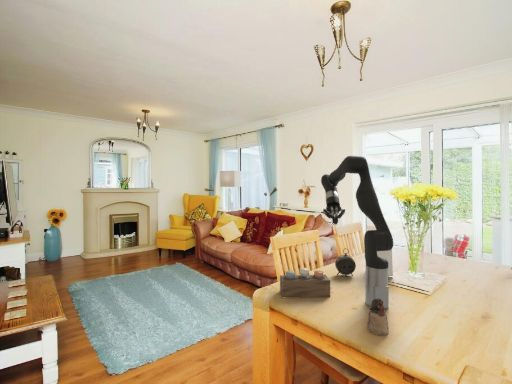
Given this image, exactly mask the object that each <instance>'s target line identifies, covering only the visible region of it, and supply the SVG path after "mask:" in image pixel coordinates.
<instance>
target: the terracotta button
mask: <svg viewBox="0 0 512 384" xmlns="http://www.w3.org/2000/svg"><path fill="white" fill-rule="evenodd" d="M313 275H314V277H315V278H323V275H324V271H323V270H318V269H317V270H316V269H315V270H314V271H313Z"/></svg>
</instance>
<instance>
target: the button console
mask: <svg viewBox="0 0 512 384" xmlns="http://www.w3.org/2000/svg"><path fill="white" fill-rule="evenodd" d="M279 291H280V295H281V298H282V297H300V298H330V297H331V279H330V278H329V276H328V275H327V274H323V278H315V277H314V274H309V275H307V276H303V275H300V274H295V278H293V279H288V278H286V274H285V275H283V274H282V275H281V274H280V275H279Z"/></svg>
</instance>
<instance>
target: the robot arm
mask: <svg viewBox="0 0 512 384" xmlns="http://www.w3.org/2000/svg"><path fill="white" fill-rule="evenodd" d="M346 174H357V175H359V176H358V177H359V179H360V183H359V185H358V187H357V189H356V192H355V198H356V202H357V206H358V208H359V210H360V212H362V213H363V214H364V215H365V216H366V217H367V218H368V219H369V220H370V221H371V222H372V224H373V225H374V227H375V229H370V230H366V232H365V233H364V237H363V242H364V243H363V244H364V245H363V246H364V259H365V288H364V289H365V295H364V296H365V298H364V300H365V304H366V306H369V308H371V304H372V300H374V299H376V298H380V299H381V300H382V301H383V306H384V310H385V309H389V301H390V300H389V299H390V298H389V296H390V295H389V294H390V292H389V291H390V288H389V277H388V261H387V260H386V259H384V258H381V257H378V256H377V251H389V250H391V249H392V250H393V248H394V238H393V235H392V233H391V229H390V228H389V225H388V224H387V222H386V219H385V216H384V214H383V212H382V209H381V206H380V203H379V198H378V196H377V193H376V190H375V188H374V185H373V181H372V178H371V173H370V168H369V164H368V160H367V159H366V157H364V156H362V155H361V156H360V155H348V156H346V157H345V158H344V159H343V160H342V161H341V163H340V164H339V165H338V166H337V168H336V169H334V170H333V171H332V172H330V173H329V174H327V173H326V174H323V175H322V176H321V180H320V181H321V185H322V188H323V189H324V191H325V203H326V204H325V205H326V207H325V208H323V210H322V214H323V215H325V216H326V217H327V218H328V219H331V220H332V221H331V222H332V224H333V225H338V223H339V219H341V218H342V217H343V216H344V214H346V209H345V208H342V206H341V203H340V196H339V194H338V189H337V188H338V187H337V186H338V184H339V183H340V182H341V181H343V179H345V178H346Z"/></svg>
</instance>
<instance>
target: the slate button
mask: <svg viewBox="0 0 512 384" xmlns="http://www.w3.org/2000/svg"><path fill="white" fill-rule="evenodd" d="M285 275H286V278H288V279H293V278H295V275H296V272H295V271H293V270H287V271H285Z"/></svg>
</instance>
